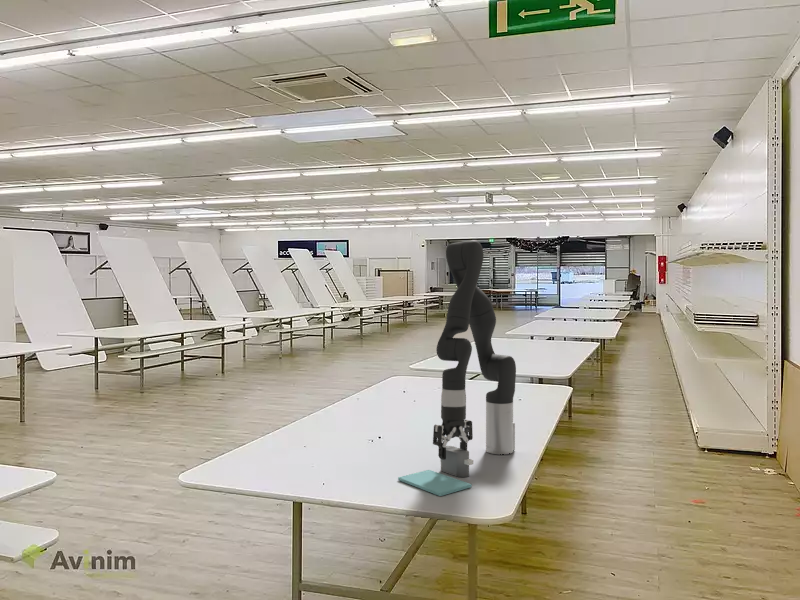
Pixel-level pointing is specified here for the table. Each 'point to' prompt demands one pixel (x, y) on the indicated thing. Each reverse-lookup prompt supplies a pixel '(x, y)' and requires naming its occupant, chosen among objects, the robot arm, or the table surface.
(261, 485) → the table surface
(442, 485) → the mat
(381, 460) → the table surface
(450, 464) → the plug block
